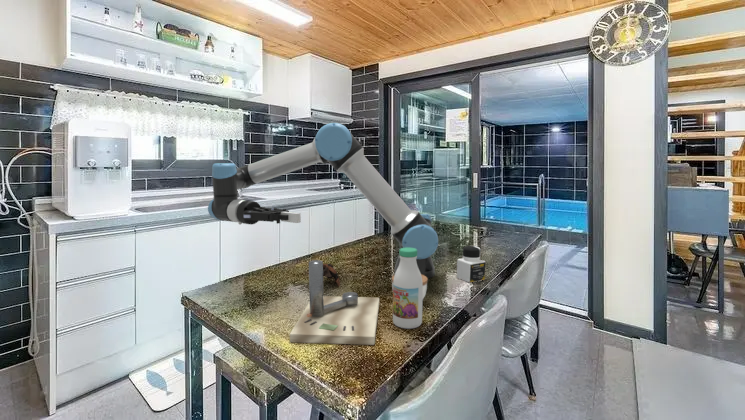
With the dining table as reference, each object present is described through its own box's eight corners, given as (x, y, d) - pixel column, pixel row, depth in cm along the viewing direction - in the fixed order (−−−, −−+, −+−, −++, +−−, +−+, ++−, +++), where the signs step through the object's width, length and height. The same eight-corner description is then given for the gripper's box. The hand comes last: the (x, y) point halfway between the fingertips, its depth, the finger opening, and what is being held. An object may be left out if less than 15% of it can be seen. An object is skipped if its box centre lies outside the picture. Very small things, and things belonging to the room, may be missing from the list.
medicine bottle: (470, 283, 124) (471, 250, 122) (456, 277, 130) (457, 245, 129) (485, 280, 127) (486, 247, 126) (471, 274, 134) (472, 243, 132)
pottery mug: (340, 290, 119) (328, 271, 116) (316, 301, 121) (303, 282, 118) (345, 271, 130) (333, 253, 127) (323, 281, 132) (311, 263, 129)
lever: (351, 298, 104) (351, 251, 102) (361, 303, 100) (360, 254, 98) (303, 314, 93) (301, 262, 91) (312, 319, 90) (310, 266, 88)
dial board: (379, 304, 106) (379, 296, 106) (374, 344, 83) (374, 335, 82) (313, 302, 108) (313, 295, 107) (289, 342, 84) (289, 333, 84)
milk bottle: (401, 314, 99) (402, 244, 96) (427, 321, 95) (428, 248, 92) (387, 324, 93) (387, 250, 90) (413, 332, 89) (414, 254, 86)
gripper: (261, 220, 121) (314, 227, 108) (228, 226, 110) (282, 234, 97) (260, 198, 120) (313, 203, 107) (226, 202, 109) (281, 207, 96)
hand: (298, 218), depth 102 cm, fingers closed
